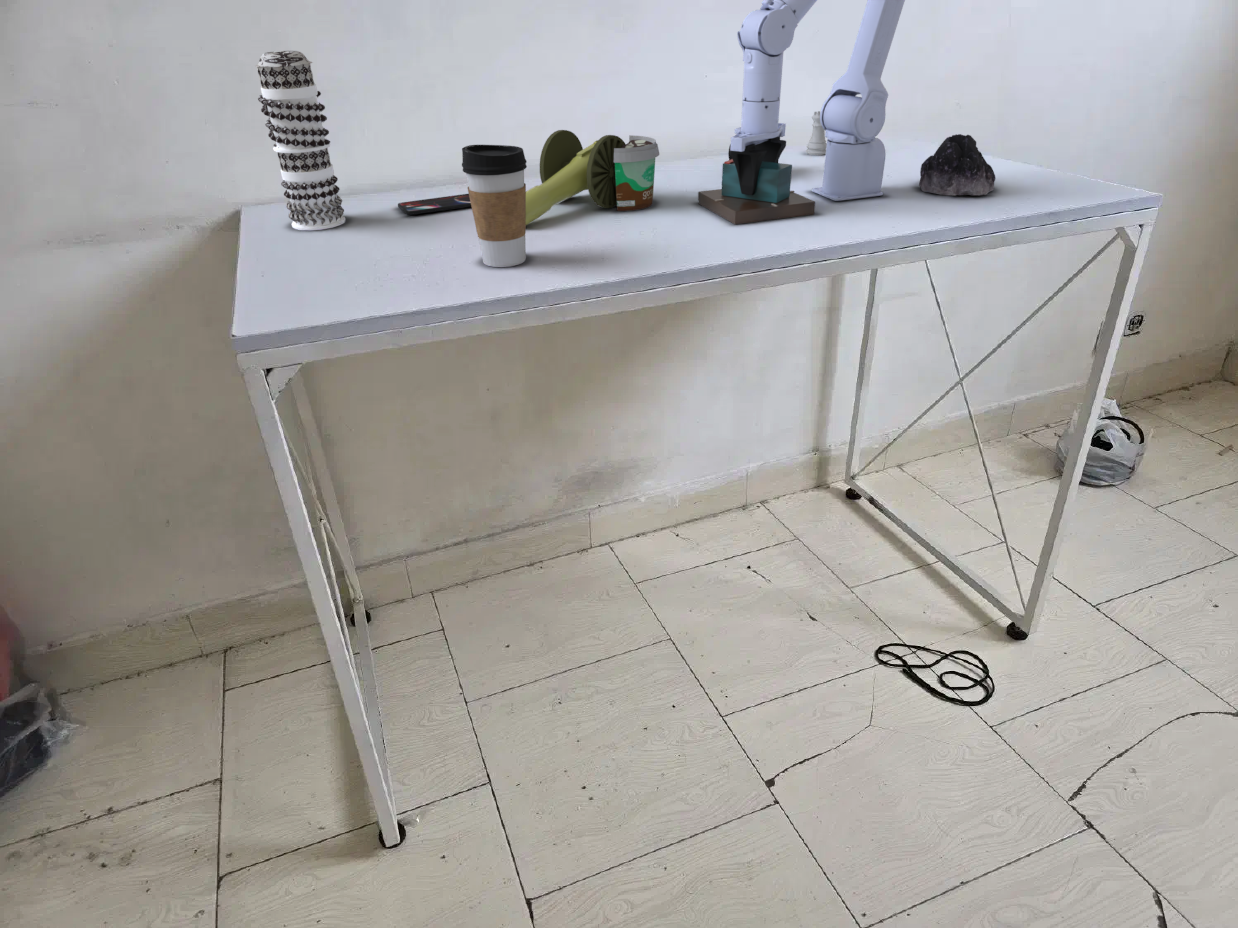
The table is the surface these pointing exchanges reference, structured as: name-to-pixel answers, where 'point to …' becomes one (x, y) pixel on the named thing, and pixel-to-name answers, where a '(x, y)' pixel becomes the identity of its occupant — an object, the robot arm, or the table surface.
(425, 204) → the smartphone
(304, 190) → the white patterned cylinder
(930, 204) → the table surface
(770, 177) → the teal block red stripe
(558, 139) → the cannon
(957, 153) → the crystal cluster
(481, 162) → the coffee cup
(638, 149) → the food container
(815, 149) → the white chess piece
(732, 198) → the clock
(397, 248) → the table surface
